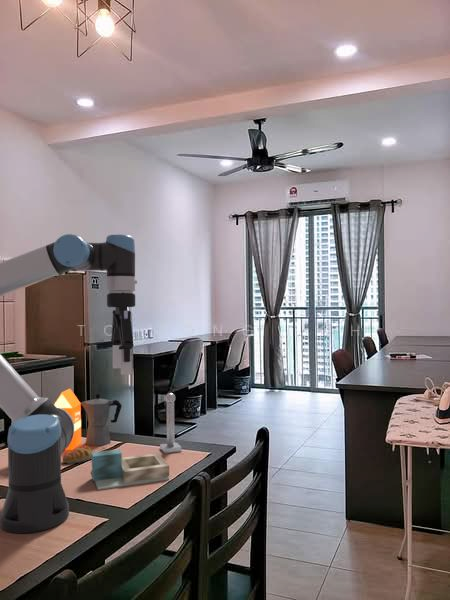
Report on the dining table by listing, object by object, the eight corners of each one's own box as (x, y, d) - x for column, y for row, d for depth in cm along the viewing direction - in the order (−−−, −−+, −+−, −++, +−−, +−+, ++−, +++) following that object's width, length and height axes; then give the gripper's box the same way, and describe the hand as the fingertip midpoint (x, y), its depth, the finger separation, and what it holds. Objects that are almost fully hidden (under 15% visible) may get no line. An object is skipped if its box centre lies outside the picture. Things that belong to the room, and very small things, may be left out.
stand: (164, 453, 165) (163, 395, 165) (160, 448, 171) (159, 392, 171) (181, 451, 167) (180, 393, 167) (176, 446, 173) (176, 390, 173)
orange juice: (51, 450, 170) (50, 392, 170) (61, 442, 179) (59, 388, 179) (73, 449, 170) (72, 392, 170) (81, 442, 179) (80, 388, 179)
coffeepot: (75, 446, 175) (75, 395, 175) (85, 438, 184) (84, 391, 184) (118, 446, 173) (117, 396, 174) (125, 439, 183) (124, 391, 183)
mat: (98, 490, 133) (97, 488, 133) (91, 471, 148) (91, 469, 148) (169, 479, 140) (169, 478, 140) (155, 463, 155) (155, 461, 155)
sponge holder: (95, 486, 134) (95, 461, 134) (90, 471, 146) (90, 448, 146) (169, 476, 142) (169, 452, 142) (158, 462, 154) (158, 440, 154)
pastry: (69, 466, 153) (69, 454, 153) (58, 462, 157) (57, 450, 158) (95, 459, 160) (94, 447, 160) (83, 455, 165) (83, 444, 165)
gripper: (144, 291, 121) (145, 376, 121) (126, 293, 144) (127, 365, 144) (114, 291, 118) (115, 378, 118) (100, 293, 142) (101, 366, 141)
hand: (121, 371), depth 131 cm, fingers open, 13 cm apart
